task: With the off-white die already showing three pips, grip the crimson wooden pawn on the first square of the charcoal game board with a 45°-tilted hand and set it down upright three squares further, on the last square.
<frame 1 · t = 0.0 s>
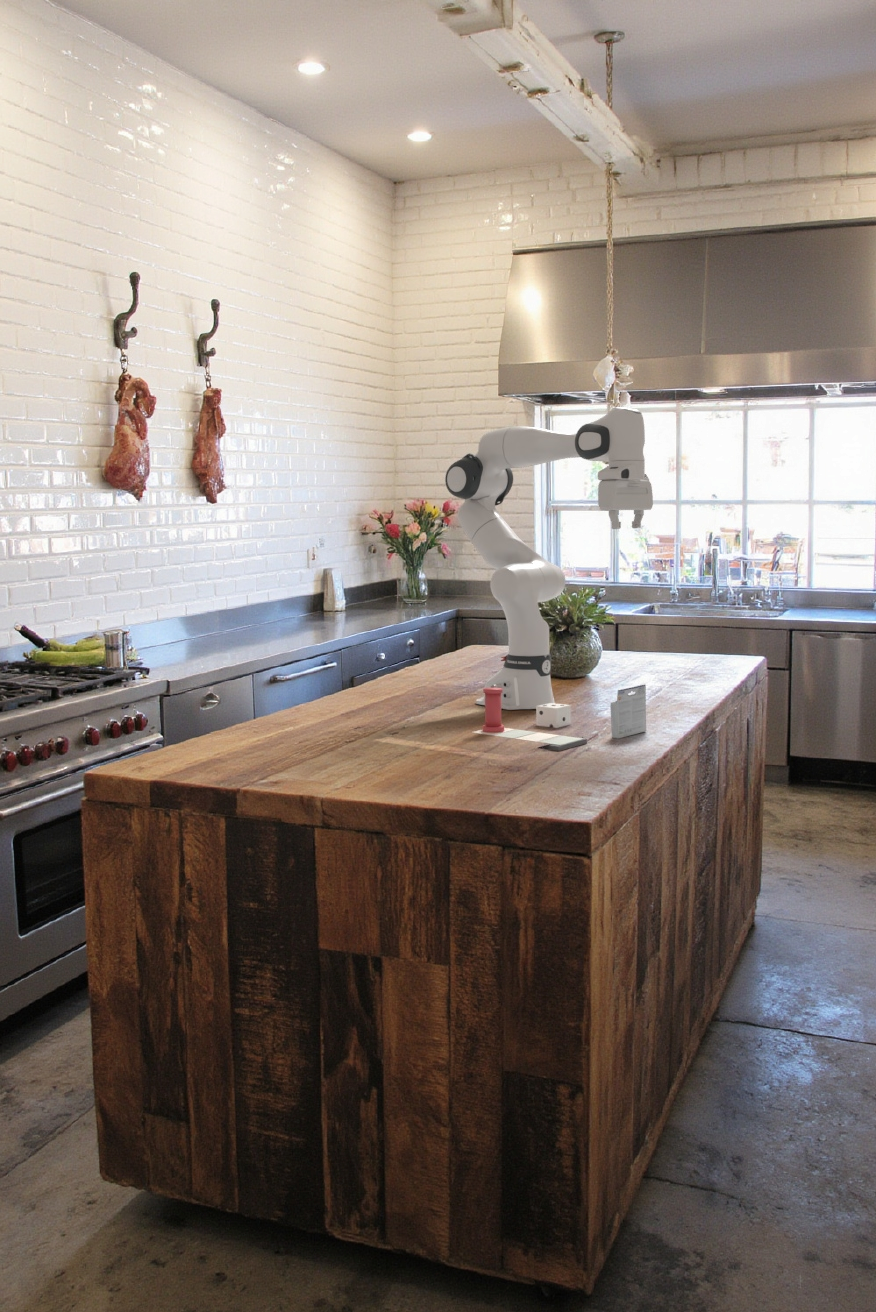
hand: (626, 528, 291), 48 cm above the countertop, tool pointing down, fingers open, 8 cm apart
game board: (526, 740, 268), on the countertop
die: (553, 729, 281), on the countertop
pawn: (493, 730, 274), point 1 cm above the countertop, touching game board
ink box: (628, 735, 273), on the countertop
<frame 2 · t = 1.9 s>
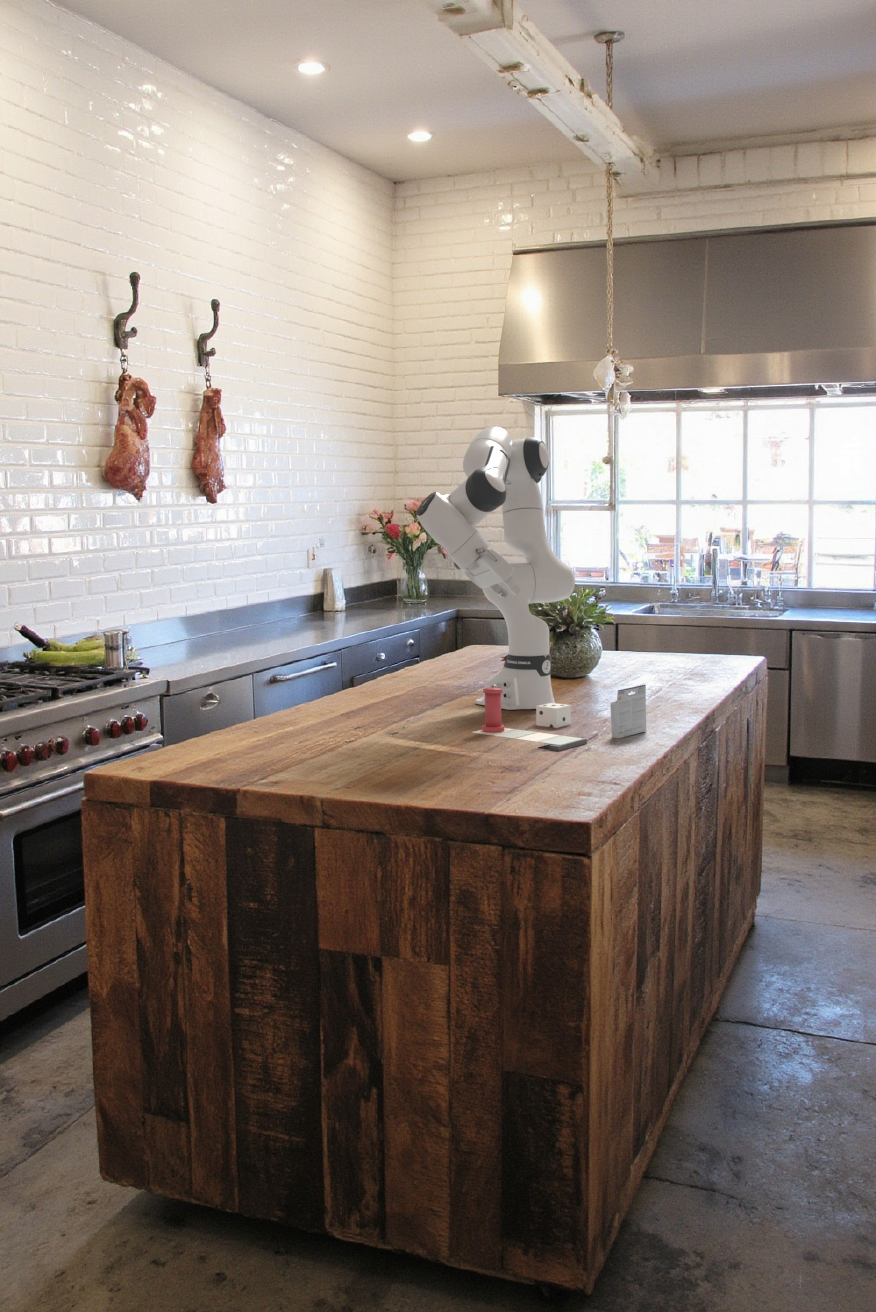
hand: (511, 594, 272), 33 cm above the countertop, tool tilted 45°, fingers open, 8 cm apart
nothing on the countertop moved.
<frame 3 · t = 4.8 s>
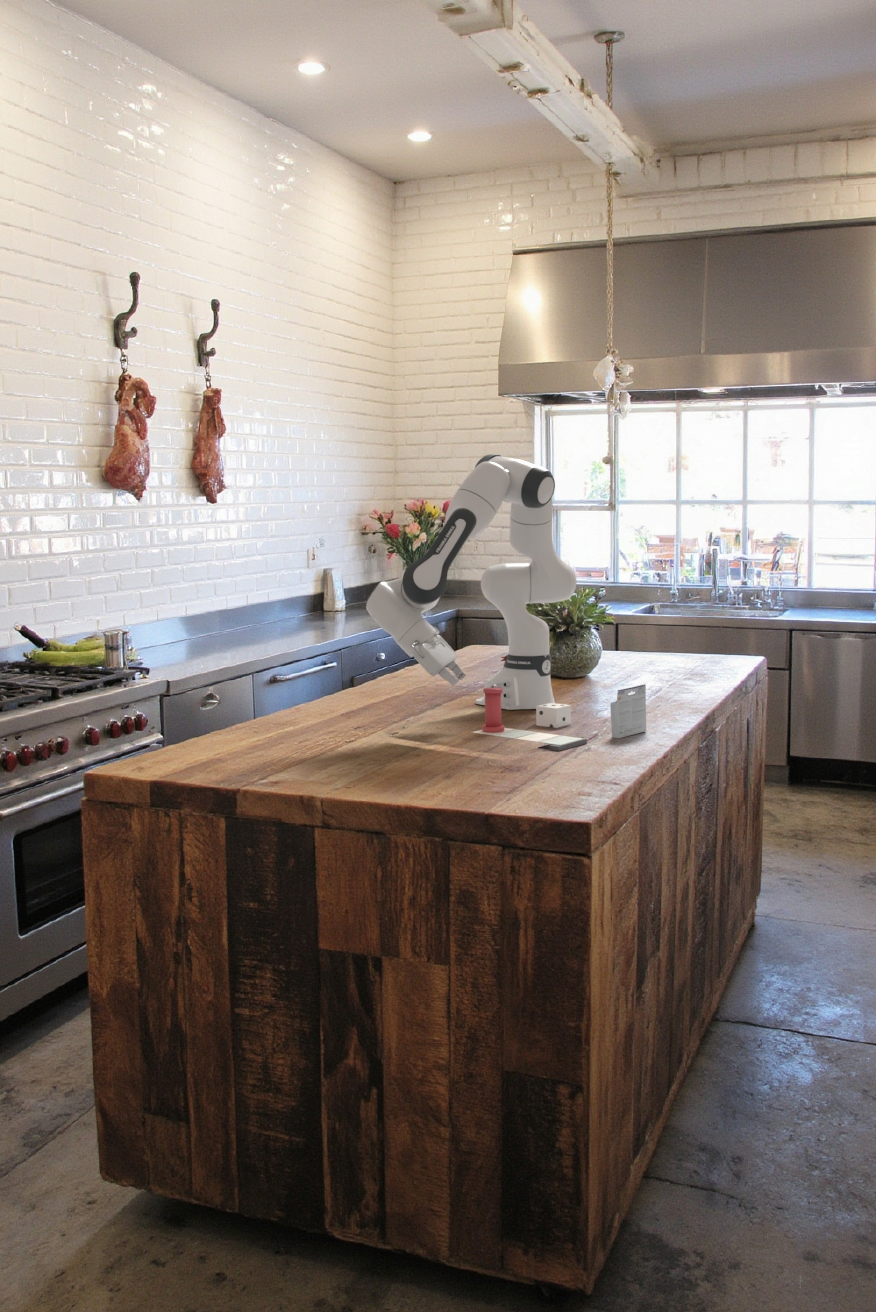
hand: (460, 680, 274), 13 cm above the countertop, tool tilted 45°, fingers open, 8 cm apart
nothing on the countertop moved.
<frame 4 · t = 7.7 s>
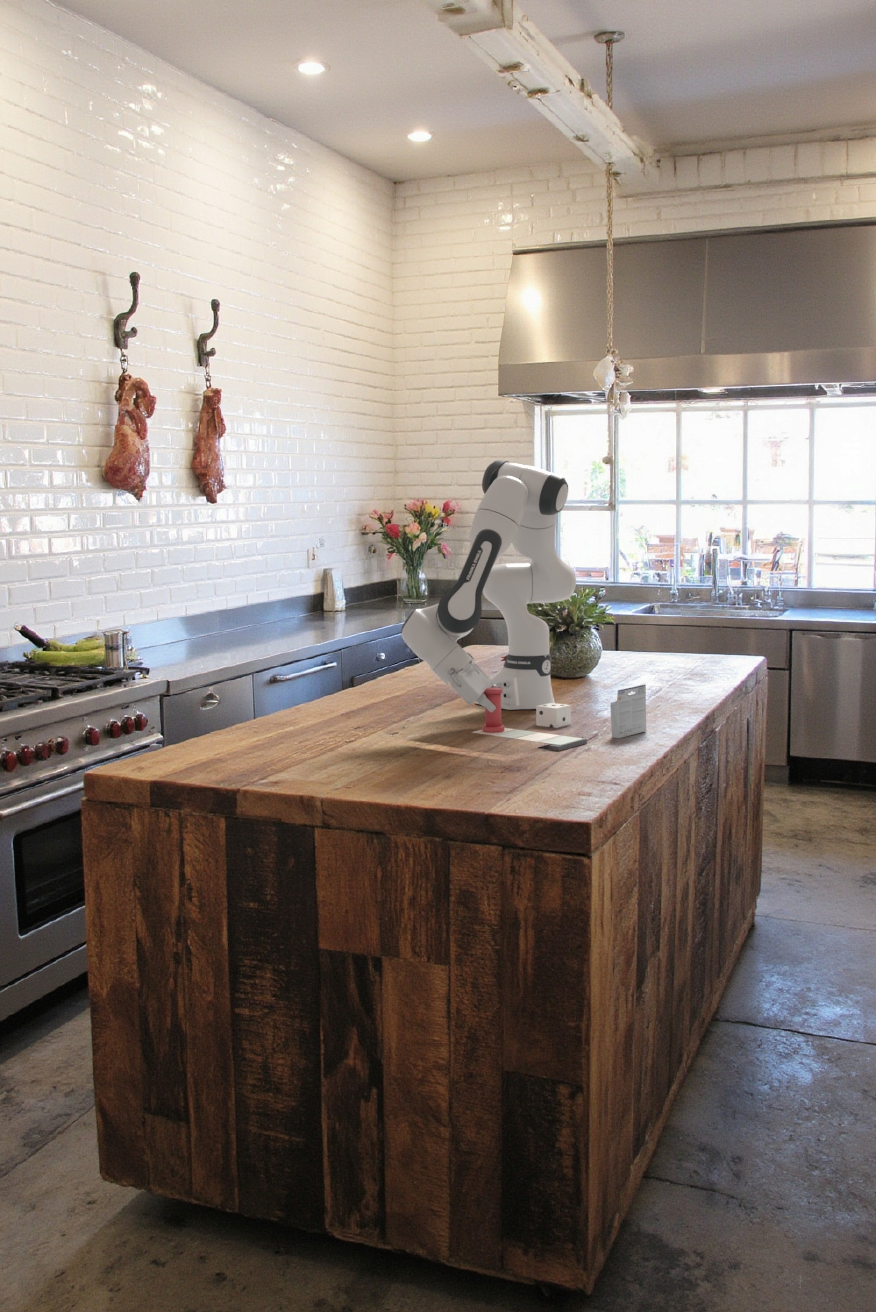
hand: (495, 708, 274), 7 cm above the countertop, tool tilted 45°, fingers closed on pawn, 4 cm apart
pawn: (493, 730, 274), point 1 cm above the countertop, touching game board, gripper
everything else where it was.
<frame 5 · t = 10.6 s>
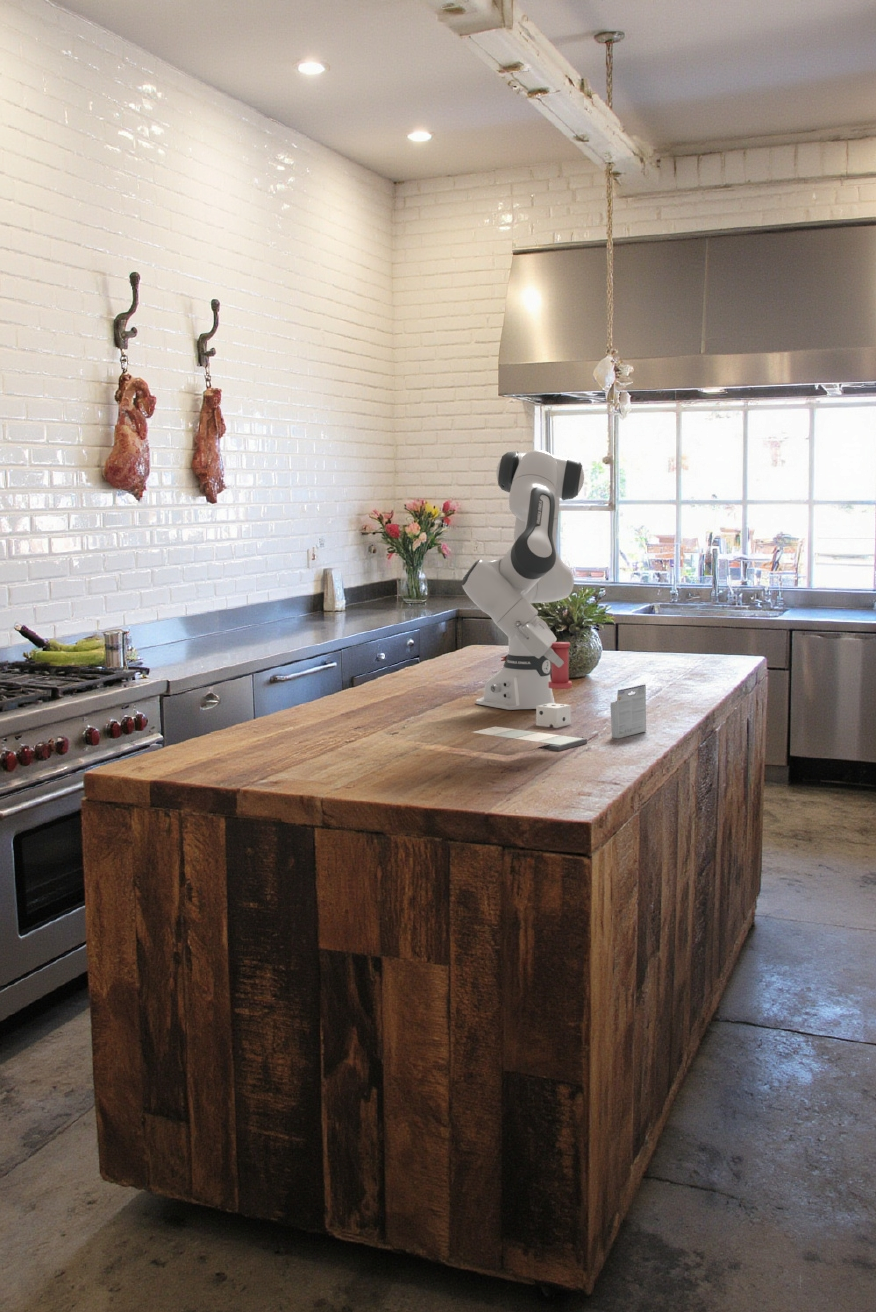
hand: (563, 663, 259), 19 cm above the countertop, tool tilted 45°, fingers closed on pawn, 4 cm apart
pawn: (560, 687, 260), point 13 cm above the countertop, touching gripper
everything else where it was.
when the fingers open (8 cm above the countertop, at t = 13.3 s): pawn drops 1 cm, resting on game board.
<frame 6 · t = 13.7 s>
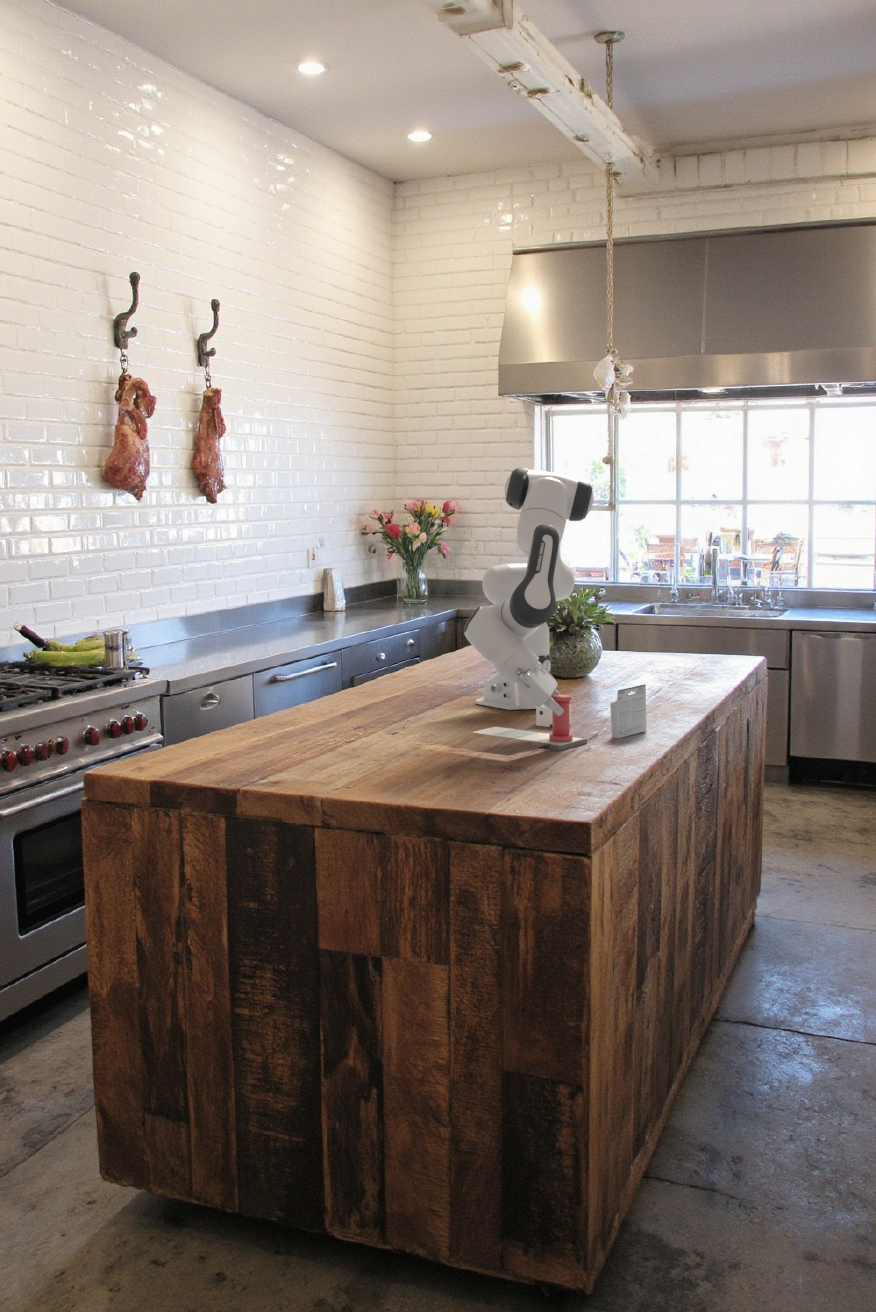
hand: (563, 710, 261), 8 cm above the countertop, tool tilted 45°, fingers open, 8 cm apart
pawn: (560, 740, 262), point 1 cm above the countertop, touching game board
everything else where it was.
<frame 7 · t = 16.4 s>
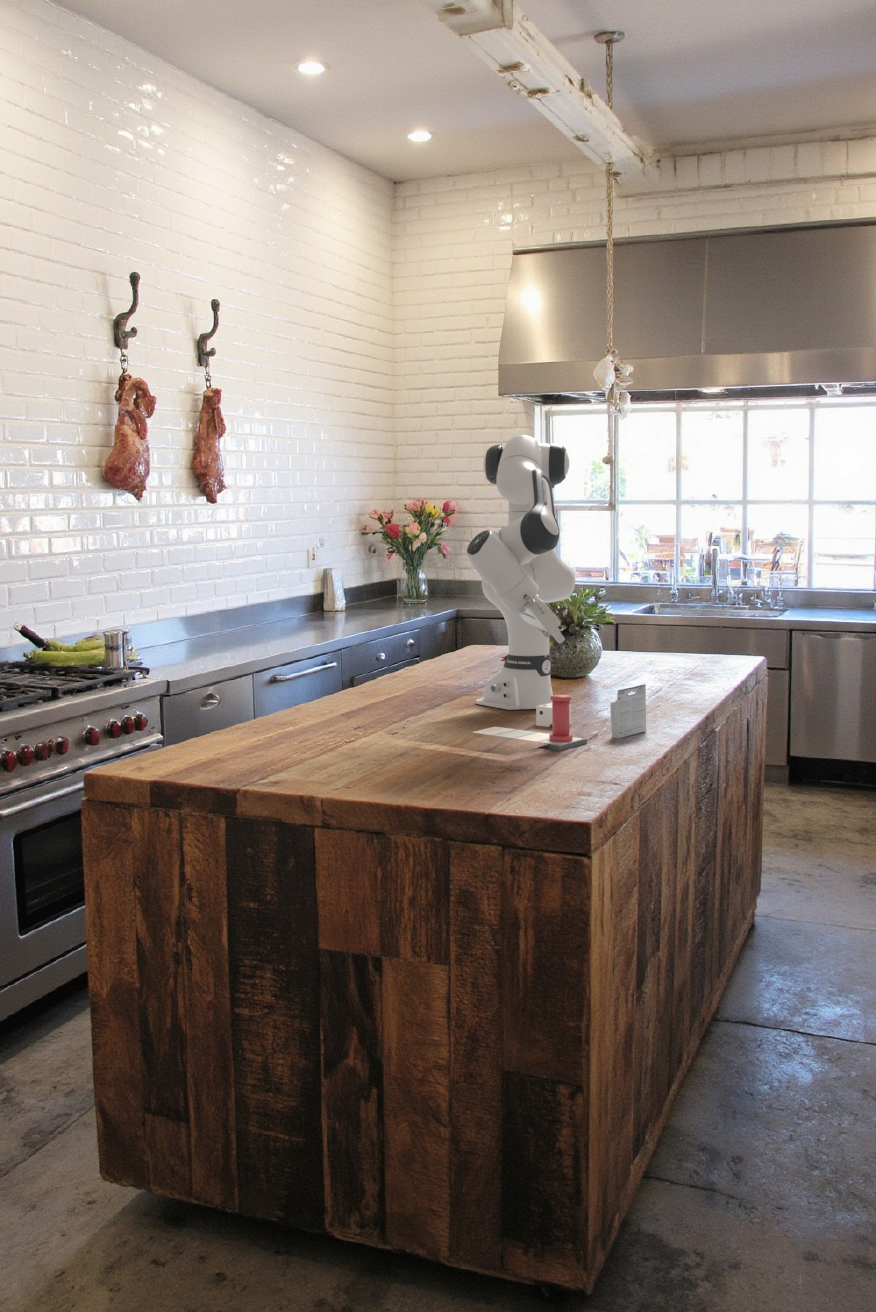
hand: (555, 638, 268), 23 cm above the countertop, tool tilted 40°, fingers open, 8 cm apart
nothing on the countertop moved.
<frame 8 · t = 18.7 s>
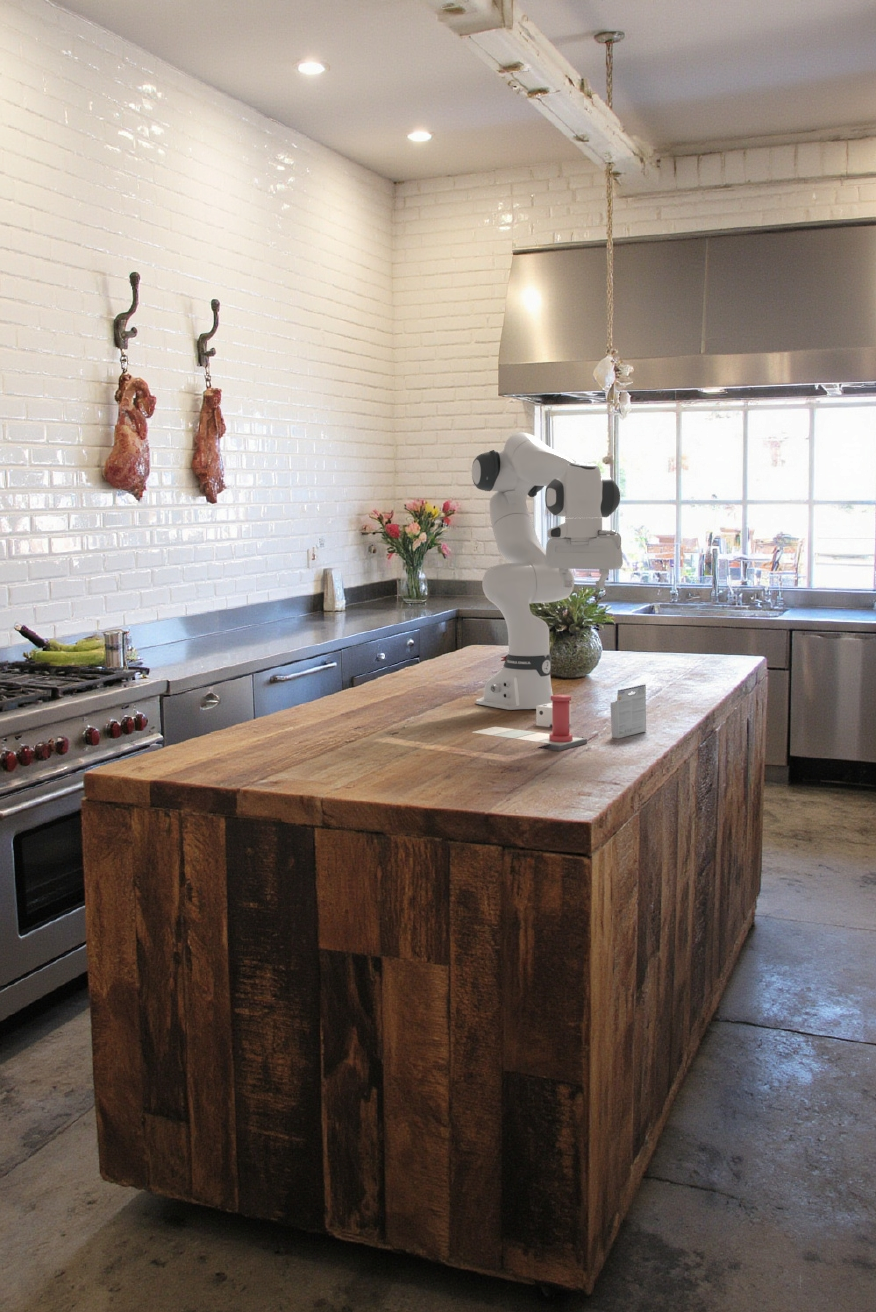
hand: (583, 587, 280), 34 cm above the countertop, tool pointing down, fingers open, 8 cm apart
nothing on the countertop moved.
at the end: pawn 0.1 cm from the target spot on the game board, point 1.2 cm above the game board's base; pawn tilted 0°; the gripper is holding nothing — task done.
